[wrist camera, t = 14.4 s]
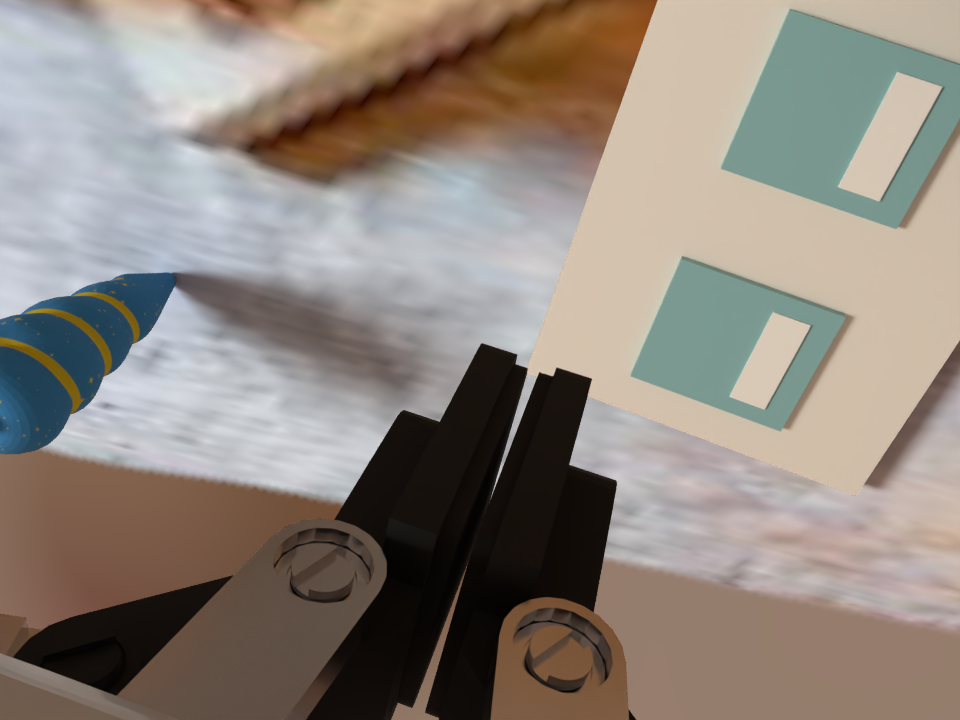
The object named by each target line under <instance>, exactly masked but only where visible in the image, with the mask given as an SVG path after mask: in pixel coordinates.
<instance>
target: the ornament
mask: <svg viewBox="0 0 960 720" xmlns="http://www.w3.org/2000/svg"><path fill="white" fill-rule="evenodd" d="M175 284H176V279H175V277H174V276H173V275H172V274H170V273H147V274H124V275H120V276H118V277H116V278H114V279H113V280H111V281H105V282H100V283H96V284H92V285H89V286H86V287H84V288H82V289H80V290H78V291H77V292H75V293H74V294H72V295H71V296H65V297H56V298H53V299H49V300H45V301H41V302H39V303H37V304H35V305H33V306H31V307H30V308H28V309H27V310H25V311H24V312H23V313H22V314H20V315H14V316H10V317H7V318H3V319H0V454H21V453H26V452H31V451H35V450H38V449H40V448H42V447H44V446H46V445H48V444H49V443H50V442H52V441H53V440H54V439H55V438H56V437H57V436H58V435H59V434H60V432H61V431H62V429H63V428H64V426H65V424H66V422H67V420H68V418H69V416H70V414H73V413H76V412H77V411H79V410H81V409H83V408H84V407H85V406H87V405H88V404H89V403H90V402H91V401H92V399H93V398H94V396H95V395H96V393H97V391H98V389H99V387H100V384H101V382H102V379H103V377H104V376H106V375H108V374H110V373H112V372H113V371H115V370H116V369H117V368H118V367H119V366H120V365H121V364H122V362H123V361H124V359H125V358H126V356H127V354H128V353H129V350H130V348H131V346H132V344H134V343H136V342H138V341H140V340H142V339H143V338H144V337H145V336H146V335H148V333H149V332H150V331H151V330H152V328H153V326H154V325H155V323H156V321H157V320H158V318H159V316H160V314H161V312H162V310H163V308H164V306H165V304H166V302H167V300H168V298H169V296H170V294H171V292H172V290H173V288H174V286H175Z"/></svg>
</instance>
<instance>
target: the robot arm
mask: <svg viewBox="0 0 960 720" xmlns="http://www.w3.org/2000/svg"><path fill="white" fill-rule="evenodd" d="M516 359H517V354H514V353H511V352H508V351H504V350H501V349H498V348H495V347H492V346H489V345H486V344H483V343H482V344H481V345H480V347H479V348H478V350H477V352H476V354H475V356H474V358H473V360H472V362H471V364H470V366H469V367H468V369H467V371H466V373H465V375H464V377H463V379H462V381H461V383H460V385H459V386H458V388H457V390H456V392H455V394H454V396H453V398H452V400H451V402H450V404H449V405H448V407H447V409H446V411H445V413H444V415H443V417H442V419H441V421H440V422H438V421H435V420H432V419H429V418H426V417H423V416H420V415H417V414H414V413H411V412H408V411H405V410H403V411H401V412H400V414H399V415H398V416H397V418H396V420H395V421H394V423H393V424H392V426H391V428H390V429H389V431H388V433H387V434H386V436H385V438H384V439H383V441H382V442H381V444H380V446H379V447H378V449H377V451H376V452H375V454H374V456H373V457H372V459H371V461H370V462H369V464H368V465H367V467H366V469H365V470H364V472H363V474H362V475H361V477H360V479H359V480H358V482H357V483H356V485H355V487H354V488H353V490H352V492H351V493H350V495H349V497H348V498H347V500H346V501H345V503H344V505H343V506H342V508H341V510H340V511H339V513H338V515H337V516H336V518H335V520H331V519H321V518H320V519H311V520H302V521H299V522H296V523H294V524H291V525H288V526H286V527H284V528H283V529H281V530H280V531H279V532H277V533H276V534H274V535H273V536H272V537H271V538H270V539H269V540H268V541H267V542H266V543H265V544H264V545H263V546H262V547H261V548H260V549H259V550H258V551H257V552H256V553H255V554H254V555H253V556H252V557H251V558H250V559H249V560H248V561H247V562H246V563H245V564H244V565H243V566H242V568H241V569H239V571H238V572H237V573H236V574H235V575H233V576H229V577H225V578H221V579H217V580H213V581H210V582H206V583H202V584H198V585H194V586H190V587H187V588H183V589H179V590H175V591H171V592H167V593H163V594H159V595H155V596H151V597H148V598H144V599H140V600H136V601H132V602H128V603H125V604H120V605H117V606H113V607H109V608H105V609H101V610H97V611H93V612H89V613H86V614H82V615H78V616H74V617H70V618H68V619H65V620H63V621H60V622H57V623H55V624H52V625H49V626H48V627H46V628H45V629H43V630H40V629H34V628H28V623H27V618H26V617H19V616H12V615H5V614H0V720H391V718H392V716H393V713H394V711H395V708H396V706H397V703H400V704H403V705H406V706H408V707H411V708H412V707H413V705H414V703H415V700H416V698H417V695H418V693H419V690H420V687H421V685H422V682H423V680H424V677H425V674H426V671H427V669H428V666H429V664H430V661H431V658H432V656H433V653H434V651H435V648H436V645H437V642H438V640H439V637H440V635H441V632H442V629H443V627H444V624H445V621H446V619H447V616H448V614H449V611H450V608H451V606H452V603H453V600H454V598H455V595H456V592H457V590H458V587H459V584H460V582H461V579H462V576H463V574H464V571H465V569H466V572H465V575H464V579H463V583H462V586H461V589H460V593H459V596H458V600H457V603H456V606H455V610H454V613H453V617H452V620H451V624H450V628H449V631H448V634H447V638H446V641H445V645H444V648H443V652H442V655H441V659H440V662H439V665H438V669H437V672H436V676H435V679H434V683H433V686H432V690H431V693H430V697H429V700H428V704H427V707H426V711H425V713H427V714H430V715H433V716H435V717H438V718H439V720H636V719H635V717H634V716H633V715H632V713H631V712H630V711H629V709H628V692H627V672H626V661H625V656H624V652H623V647H622V645H621V643H620V641H619V640H618V638H617V636H616V635H615V633H614V631H613V630H612V629H611V628H610V627H609V626H608V624H606V622H604V620H603V619H602V618H601V617H600V616H598V615H597V614H595V613H594V607H595V602H596V596H597V591H598V585H599V580H600V574H601V569H602V564H603V558H604V553H605V547H606V542H607V536H608V531H609V526H610V520H611V515H612V509H613V504H614V498H615V493H616V486H617V481H616V480H613V479H610V478H607V477H604V476H601V475H598V474H595V473H592V472H589V471H586V470H583V469H580V468H577V467H574V466H571V465H569V463H570V459H571V455H572V452H573V448H574V444H575V441H576V437H577V433H578V430H579V426H580V422H581V418H582V415H583V411H584V407H585V404H586V400H587V396H588V393H589V389H590V385H591V381H592V378H589V377H585V376H582V375H579V374H576V373H573V372H570V371H567V370H564V369H561V368H557V367H556V370H555V373H554V376H550V375H547V374H544V373H541V372H539V374H538V377H537V379H536V382H535V385H534V387H533V390H532V392H531V395H530V398H529V400H528V403H527V406H526V408H525V411H524V413H523V416H522V419H521V421H520V424H519V427H518V429H517V432H516V434H515V437H514V440H513V442H512V445H511V448H510V450H509V453H508V455H507V458H506V461H505V463H504V466H503V469H502V471H501V474H500V476H499V479H498V482H497V484H496V487H495V490H494V492H493V488H494V485H495V482H496V478H497V475H498V471H499V468H500V464H501V461H502V458H503V454H504V451H505V447H506V444H507V440H508V437H509V434H510V430H511V427H512V423H513V420H514V416H515V413H516V410H517V406H518V403H519V399H520V396H521V392H522V389H523V386H524V382H525V379H526V375H527V371H528V368H525V367H522V366H519V365H516V364H515V363H516ZM492 492H493V495H492ZM491 495H492V498H491ZM490 499H491V500H490ZM489 502H490V503H489ZM468 561H469V562H468ZM467 563H468V565H467ZM466 566H467V568H466Z"/></svg>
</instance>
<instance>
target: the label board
mask: <svg viewBox="0 0 960 720" xmlns="http://www.w3.org/2000/svg"><path fill="white" fill-rule="evenodd" d="M959 341H960V0H658V1H657V4H656V7H655V10H654V12H653V15H652V18H651V21H650V24H649V27H648V29H647V32H646V35H645V38H644V41H643V43H642V46H641V49H640V52H639V55H638V57H637V60H636V63H635V66H634V69H633V72H632V74H631V77H630V80H629V83H628V86H627V88H626V91H625V94H624V97H623V100H622V103H621V105H620V108H619V111H618V114H617V117H616V119H615V122H614V125H613V128H612V131H611V133H610V136H609V139H608V142H607V145H606V148H605V150H604V153H603V156H602V159H601V162H600V164H599V167H598V170H597V173H596V176H595V179H594V181H593V184H592V187H591V190H590V193H589V195H588V198H587V201H586V204H585V207H584V210H583V212H582V215H581V218H580V221H579V224H578V226H577V229H576V232H575V235H574V238H573V240H572V243H571V246H570V249H569V252H568V255H567V257H566V260H565V263H564V266H563V269H562V271H561V274H560V277H559V280H558V283H557V286H556V288H555V291H554V294H553V297H552V300H551V302H550V305H549V308H548V311H547V314H546V316H545V319H544V322H543V325H542V328H541V331H540V333H539V336H538V339H537V342H536V345H535V347H534V350H533V353H532V356H531V359H530V362H529V364H528V367H527V368H528V371H527V374H530V375H532V376H535V377H538V374H539V372H541V373H544V374H547V375H550V376H554V373H555V370H556V367H557V368H561V369H564V370H567V371H570V372H573V373H576V374H579V375H582V376H585V377H589V378H592V381H591V385H590V389H589V393H588V396H589V397H591V398H594V399H597V400H599V401H602V402H605V403H607V404H610V405H613V406H615V407H618V408H621V409H624V410H626V411H629V412H632V413H634V414H637V415H640V416H642V417H645V418H648V419H650V420H653V421H656V422H658V423H661V424H664V425H666V426H669V427H672V428H675V429H677V430H680V431H683V432H685V433H688V434H691V435H693V436H696V437H699V438H701V439H704V440H707V441H709V442H712V443H715V444H717V445H720V446H723V447H726V448H728V449H731V450H734V451H736V452H739V453H742V454H744V455H747V456H750V457H752V458H755V459H758V460H760V461H763V462H766V463H769V464H771V465H774V466H777V467H779V468H782V469H785V470H787V471H790V472H793V473H795V474H798V475H801V476H803V477H806V478H809V479H811V480H814V481H817V482H820V483H822V484H825V485H828V486H830V487H833V488H836V489H838V490H841V491H844V492H846V493H849V494H852V495H854V496H856V495H857V494H858V492H859V491H860V489H861V488H862V486H863V485H864V483H865V482H866V480H867V479H868V477H869V476H870V474H871V473H872V471H873V470H874V468H875V467H876V465H877V464H878V462H879V461H880V459H881V458H882V456H883V455H884V453H885V452H886V450H887V449H888V447H889V446H890V444H891V443H892V441H893V440H894V438H895V437H896V435H897V434H898V432H899V431H900V429H901V428H902V426H903V425H904V423H905V422H906V420H907V419H908V417H909V416H910V414H911V413H912V411H913V410H914V408H915V407H916V405H917V404H918V402H919V401H920V399H921V398H922V396H923V395H924V393H925V392H926V390H927V389H928V387H929V386H930V384H931V383H932V381H933V380H934V378H935V377H936V375H937V374H938V372H939V371H940V369H941V368H942V366H943V365H944V363H945V362H946V360H947V359H948V357H949V356H950V354H951V353H952V351H953V350H954V348H955V347H956V345H957V344H958V342H959Z"/></svg>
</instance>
